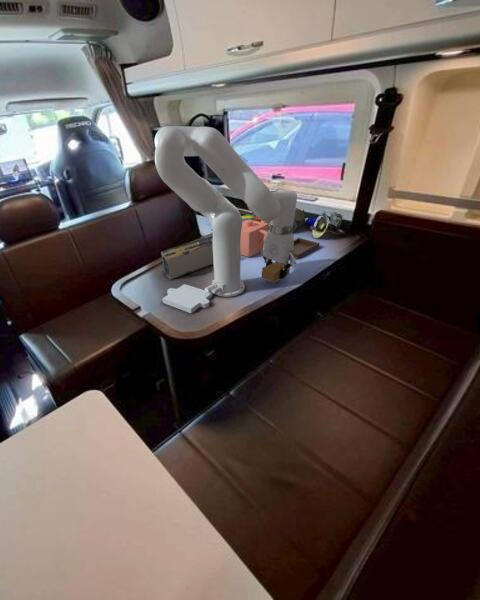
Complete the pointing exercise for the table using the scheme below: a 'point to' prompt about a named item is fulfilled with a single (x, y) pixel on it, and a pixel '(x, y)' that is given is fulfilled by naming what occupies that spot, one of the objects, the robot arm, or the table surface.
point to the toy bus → (187, 257)
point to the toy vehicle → (336, 219)
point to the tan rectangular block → (273, 272)
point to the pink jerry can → (252, 237)
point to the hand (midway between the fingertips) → (275, 274)
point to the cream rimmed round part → (325, 226)
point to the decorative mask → (250, 218)
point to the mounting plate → (187, 298)
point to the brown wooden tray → (303, 247)
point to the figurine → (311, 222)
